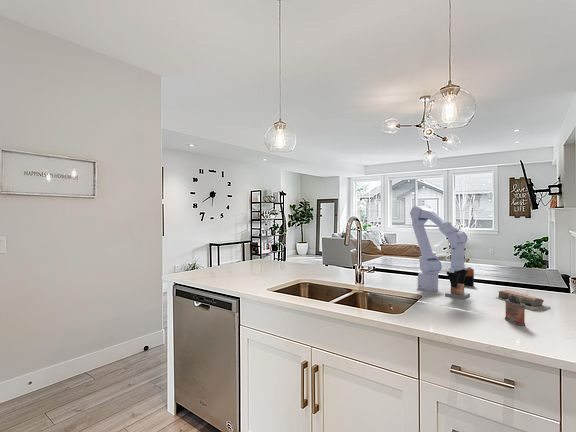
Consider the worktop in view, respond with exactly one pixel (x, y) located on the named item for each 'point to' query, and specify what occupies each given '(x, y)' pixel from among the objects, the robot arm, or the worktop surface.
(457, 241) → the robot arm
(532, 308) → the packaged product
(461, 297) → the slate slab
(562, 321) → the worktop surface
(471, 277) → the battery
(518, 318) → the red snack pouch
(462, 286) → the terracotta cube
